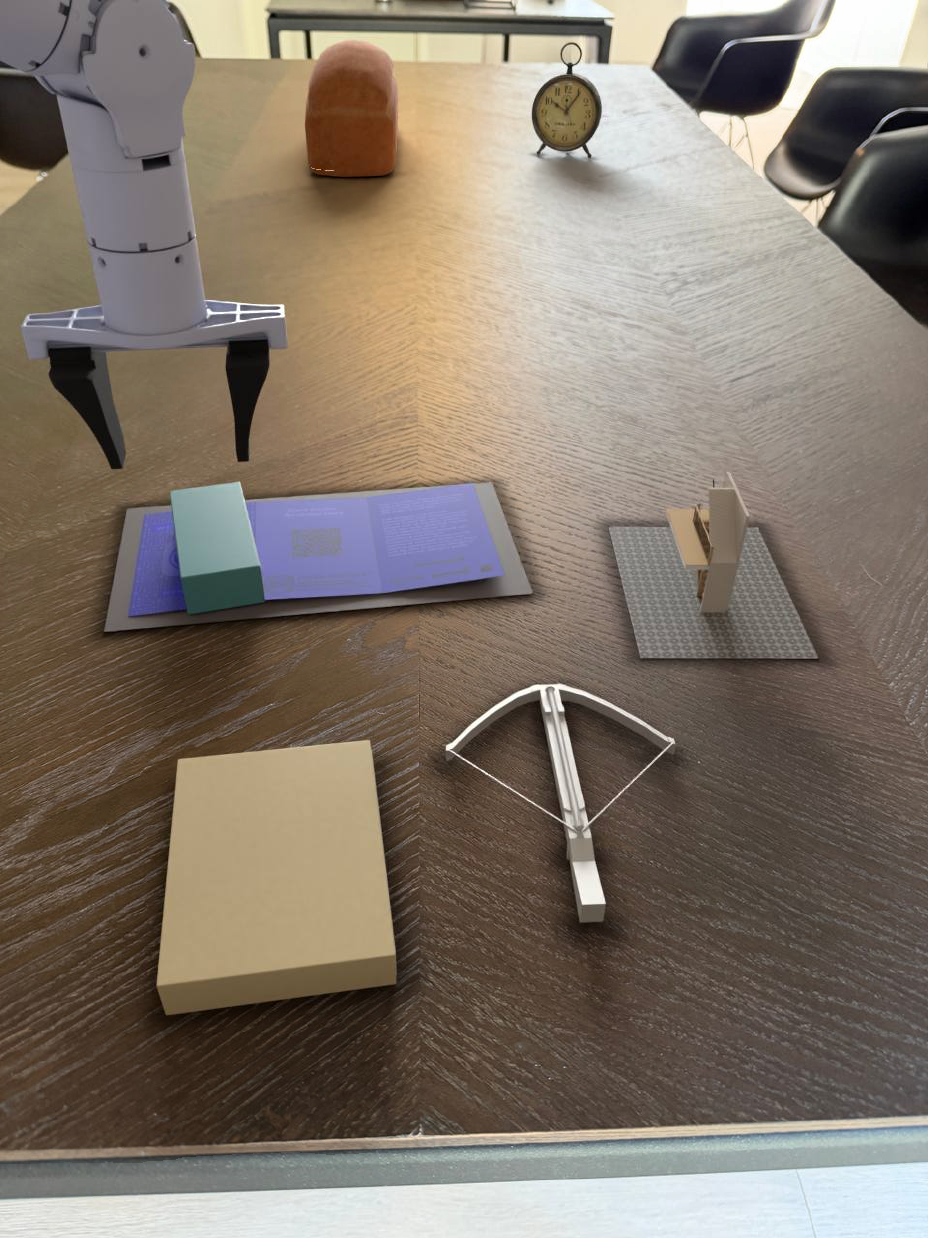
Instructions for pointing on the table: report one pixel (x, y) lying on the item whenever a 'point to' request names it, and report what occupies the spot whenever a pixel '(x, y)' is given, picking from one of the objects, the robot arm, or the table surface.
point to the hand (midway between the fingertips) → (181, 457)
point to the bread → (352, 111)
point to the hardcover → (275, 879)
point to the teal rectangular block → (216, 548)
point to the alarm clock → (566, 110)
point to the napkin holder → (707, 586)
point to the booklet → (333, 555)
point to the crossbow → (568, 777)
